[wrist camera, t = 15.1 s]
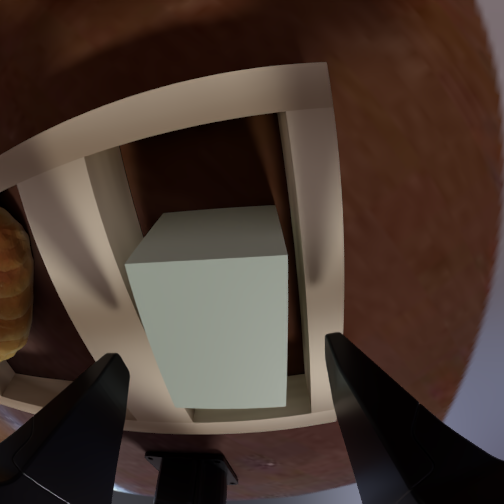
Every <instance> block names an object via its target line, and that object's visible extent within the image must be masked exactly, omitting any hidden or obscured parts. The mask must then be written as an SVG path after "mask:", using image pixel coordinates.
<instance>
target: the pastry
mask: <svg viewBox="0 0 504 504" xmlns="http://www.w3.org/2000/svg"><path fill="white" fill-rule="evenodd" d="M33 281H34V259H33V257H32V254H31V249H30V241H29V236H28V234H27V233H26V232H25V230H24V228H23V226H22V225H21V224H20V223H19V222H17V221H16V220H15V219H14V218H13V217H12V216H11V215H10V214H9V213H8V212H7V211H6V210H5V209H3V208H1V207H0V362H1V361H3V360H6V359H9V358H11V357H13V356H14V355H15V353H16V352H17V350H20V349H21V348H22V347H23V346H24V345H25V344H26V342H27V340H28V335H29V331H30V328H31V324H32V311H33V298H34V296H33Z"/></svg>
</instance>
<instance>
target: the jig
mask: <svg viewBox="0 0 504 504" xmlns="http://www.w3.org/2000/svg"><path fill="white" fill-rule="evenodd" d="M276 112H277V115H278V122H279V129H280V136H281V142H282V150H283V157H284V164H285V172H286V179H287V187H288V195H289V203H290V212H291V221H292V229H293V239H294V248H295V258H296V268H297V278H298V289H299V301H300V313H301V325H302V339H303V353H304V369H305V374H300V375H293V376H287V389H286V407H271V408H248V409H197V408H175V406H174V403H173V401H172V399H171V396H170V394H169V392H168V389H167V387H166V385H165V382H164V380H163V377H162V375H161V372H160V370H159V367H158V365H157V362H156V360H155V357H154V354H153V352H152V349H151V346H150V343H149V341H148V338H147V335H146V332H145V329H144V326H143V323H142V320H141V317H140V314H139V311H138V308H137V305H136V302H135V299H134V296H133V292H132V289H131V286H130V282H129V279H128V275H127V272H126V268H125V263H126V261H127V260H128V258H129V257H130V256H131V254H132V253H133V252H134V250H135V249H136V248H137V246H138V245H139V244H140V242H141V241H142V240H143V235H142V231H141V228H140V225H139V221H138V218H137V214H136V211H135V207H134V204H133V200H132V196H131V193H130V189H129V185H128V181H127V177H126V173H125V169H124V165H123V161H122V157H121V152H120V148H119V145H123V144H126V143H129V142H133V141H136V140H140V139H143V138H147V137H151V136H155V135H159V134H163V133H167V132H171V131H175V130H179V129H184V128H188V127H193V126H197V125H202V124H207V123H212V122H218V121H223V120H229V119H235V118H241V117H247V116H254V115H261V114H268V113H276ZM16 184H17V187H18V190H19V194H20V197H21V200H22V204H23V207H24V210H25V213H26V216H27V219H28V222H29V225H30V228H31V231H32V233H33V236H34V239H35V241H36V244H37V247H38V249H39V252H40V254H41V257H42V259H43V261H44V264H45V266H46V268H47V271H48V273H49V275H50V278H51V280H52V282H53V284H54V286H55V288H56V291H57V293H58V295H59V297H60V299H61V301H62V303H63V305H64V307H65V309H66V311H67V313H68V315H69V316H70V318H71V320H72V322H73V324H74V326H75V328H76V329H77V331H78V333H79V335H80V336H81V338H82V340H83V342H84V343H85V345H86V347H87V348H88V350H89V352H90V353H91V355H92V357H93V358H94V360H95V361H98V360H99V359H100V358H101V357H102V356H103V355H105V354H106V353H118V354H119V355H120V356H121V358H122V359H123V361H124V363H125V365H126V366H127V368H128V370H129V372H130V382H129V391H128V400H127V410H126V418H125V424H124V429H123V430H126V431H136V432H148V433H164V434H235V433H251V432H263V431H274V430H283V429H291V428H298V427H305V426H312V425H318V424H324V423H329V422H335V421H336V418H337V416H336V413H335V409H334V405H333V400H332V394H331V389H330V383H329V378H328V372H327V367H326V361H325V335H326V334H328V333H334V332H340V333H342V334H343V319H344V235H343V210H342V192H341V178H340V165H339V154H338V143H337V134H336V125H335V117H334V109H333V101H332V94H331V87H330V80H329V74H328V68H327V62H317V63H300V64H288V65H277V66H268V67H260V68H252V69H246V70H239V71H233V72H227V73H222V74H216V75H211V76H206V77H201V78H197V79H192V80H188V81H184V82H180V83H176V84H172V85H168V86H164V87H161V88H157V89H153V90H150V91H147V92H143V93H140V94H137V95H134V96H130V97H127V98H124V99H121V100H119V101H116V102H113V103H110V104H107V105H105V106H102V107H99V108H97V109H94V110H91V111H89V112H86V113H84V114H81V115H79V116H77V117H74V118H72V119H70V120H67V121H65V122H63V123H61V124H58V125H56V126H54V127H52V128H50V129H48V130H46V131H44V132H42V133H40V134H38V135H36V136H34V137H32V138H30V139H28V140H26V141H24V142H22V143H20V144H19V145H17V146H15V147H13V148H11V149H10V150H8V151H6V152H4V153H3V154H1V155H0V192H1V191H3V190H5V189H7V188H10V187H12V186H14V185H16ZM72 382H73V381H66V380H57V379H49V378H42V377H35V376H28V375H22V374H16V373H15V372H14V371H13V369H12V368H11V367H10V365H9V364H8V362H7V361H6V360H3V361H1V362H0V404H3V405H6V406H9V407H12V408H15V409H19V410H22V411H26V412H29V413H33V414H36V413H37V412H39V411H40V410H41V409H42V408H43V407H44V406H45V405H47V404H48V403H49V402H50V401H51V400H52V399H53V398H55V397H56V396H57V395H58V394H59V393H60V392H61V391H63V390H64V389H65V388H66V387H67V386H68V385H70V384H71V383H72Z"/></svg>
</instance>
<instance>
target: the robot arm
mask: <svg viewBox="0 0 504 504" xmlns="http://www.w3.org/2000/svg"><path fill="white" fill-rule="evenodd" d="M325 361H326V367H327V372H328V378H329V383H330V389H331V394H332V400H333V405H334V409H335V413H336V416H337V419H338V422H339V426H340V429H341V432H342V435H343V439H344V442H345V445H346V448H347V452H348V455H349V459H350V462H351V465H352V469H353V472H354V476H355V479H356V482H357V486H358V489H359V493H360V496H361V500H362V504H504V461H503V460H500V459H498V458H496V457H494V456H492V455H490V454H488V453H487V452H485V451H484V450H482V449H481V448H479V447H478V446H476V445H475V444H473V443H472V442H470V441H469V440H467V439H465V438H464V437H463V436H461V435H459V434H458V433H456V432H455V431H454V430H452V429H451V428H450V427H448V426H447V425H445V424H444V423H443V422H442V421H440V420H439V419H438V418H437V417H436V416H434V415H433V414H432V413H431V412H430V411H428V410H427V409H426V408H425V407H424V406H423V405H422V404H419V402H418V401H417V400H416V399H415V398H414V397H413V396H411V395H410V394H409V393H408V392H407V391H406V390H405V389H404V388H402V387H401V386H400V385H399V384H398V383H397V382H396V381H394V380H393V379H392V378H391V377H390V376H389V375H388V374H387V373H385V372H384V371H383V370H382V369H381V368H380V367H379V366H378V365H376V364H375V363H374V362H373V361H372V360H371V359H370V358H369V357H367V356H366V355H365V354H364V353H363V352H362V351H361V350H360V349H358V348H357V347H356V346H355V345H354V344H353V343H352V342H351V341H349V340H348V339H347V338H346V337H345V336H344V335H343V334H342V333H340V332H334V333H328V334H326V335H325ZM129 382H130V372H129V370H128V368H127V366H126V365H125V363H124V361H123V359H122V358H121V356H120V355H119V354H118V353H106V354H105V355H103V356H102V357H101V358H100V359H99V360H98V361H96V362H95V363H94V364H93V365H92V366H90V367H89V368H88V369H87V370H86V371H85V372H83V373H82V374H81V375H80V376H79V377H78V378H76V379H75V380H74V381H73V382H72V383H71V384H70V385H68V386H67V387H66V388H65V389H64V390H63V391H61V392H60V393H59V394H58V395H57V396H56V397H55V398H53V399H52V400H51V401H50V402H49V403H48V404H47V405H45V406H44V407H43V408H42V409H41V410H40V411H39V412H37V413H36V414H35V415H34V417H32V418H30V419H29V420H28V421H27V422H26V423H25V424H24V425H22V426H21V427H20V428H19V429H18V430H17V431H15V432H14V433H13V434H11V435H10V436H9V437H8V438H6V439H5V440H4V441H2V442H1V443H0V504H111V503H112V495H113V488H114V481H115V474H116V468H117V462H118V456H119V450H120V445H121V439H122V434H123V429H124V424H125V418H126V410H127V400H128V391H129ZM145 458H146V459H147V460H148V461H149V462H150V463H151V464H152V465H153V466H154V467H155V468H156V469H157V470H158V471H159V474H158V480H157V485H156V491H155V497H154V503H153V504H226V500H227V485H236V484H238V479H237V477H236V476H235V474H234V472H233V471H232V469H231V468H230V466H229V465H228V463H227V461H226V460H225V458H224V457H223V456H220V455H185V454H166V453H154V452H146V453H145Z"/></svg>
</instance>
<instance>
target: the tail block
mask: <svg viewBox="0 0 504 504" xmlns="http://www.w3.org/2000/svg"><path fill="white" fill-rule="evenodd" d="M125 268H126V272H127V275H128V279H129V282H130V286H131V289H132V292H133V296H134V299H135V302H136V305H137V308H138V311H139V314H140V317H141V320H142V323H143V326H144V329H145V332H146V335H147V338H148V341H149V343H150V346H151V349H152V352H153V354H154V357H155V360H156V362H157V365H158V367H159V370H160V372H161V375H162V377H163V380H164V382H165V385H166V387H167V389H168V392H169V394H170V396H171V399H172V401H173V403H174V406H175V408H197V409H248V408H271V407H286V389H287V347H288V254H287V250H286V246H285V241H284V237H283V233H282V229H281V225H280V221H279V217H278V213H277V210H276V206H275V205H266V206H249V207H233V208H219V209H206V210H193V211H181V212H170V213H163V214H162V215H161V217H160V218H159V219H158V220H157V222H156V223H155V224H154V225H153V227H152V228H151V229H150V231H149V232H148V233H147V234H146V236H145V237H144V238H143V240H142V241H141V242H140V244H139V245H138V246H137V248H136V249H135V250H134V252H133V253H132V254H131V256H130V257H129V258H128V260H127V261H126V263H125Z"/></svg>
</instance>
